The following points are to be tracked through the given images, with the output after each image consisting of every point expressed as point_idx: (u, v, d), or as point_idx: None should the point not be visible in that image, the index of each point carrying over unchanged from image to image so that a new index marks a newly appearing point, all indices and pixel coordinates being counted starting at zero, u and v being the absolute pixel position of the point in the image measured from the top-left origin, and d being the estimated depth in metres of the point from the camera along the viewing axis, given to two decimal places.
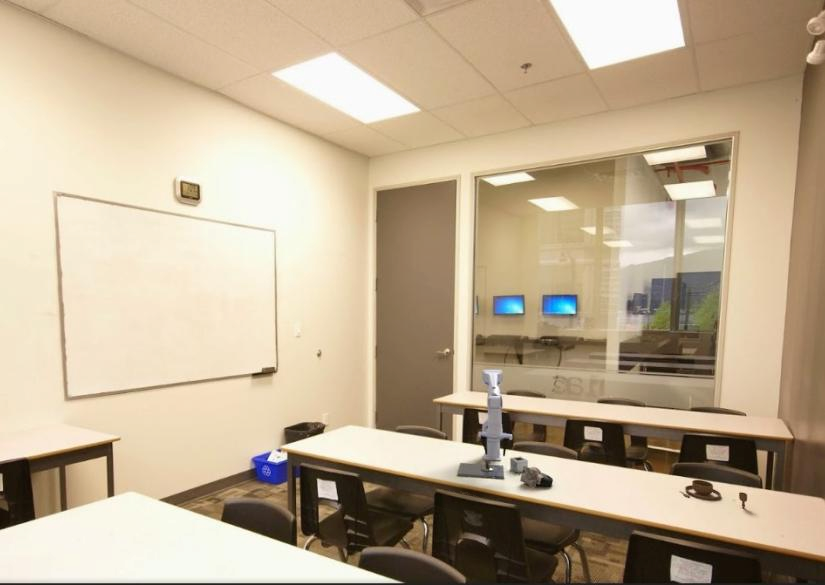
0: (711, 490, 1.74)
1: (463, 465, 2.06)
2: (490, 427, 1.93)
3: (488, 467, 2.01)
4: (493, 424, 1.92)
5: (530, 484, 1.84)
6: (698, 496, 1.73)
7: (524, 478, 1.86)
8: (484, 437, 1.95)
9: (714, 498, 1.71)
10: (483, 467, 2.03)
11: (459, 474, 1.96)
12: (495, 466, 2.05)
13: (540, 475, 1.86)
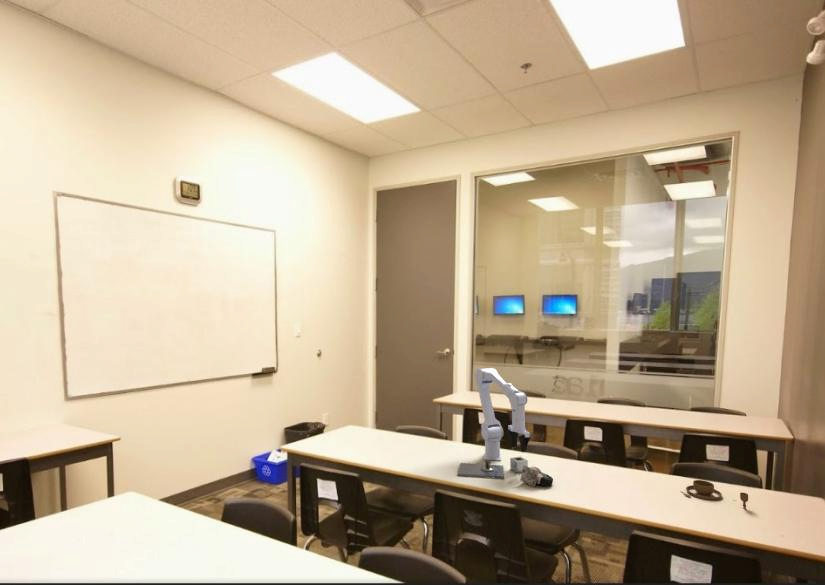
0: (712, 490, 1.74)
1: (463, 465, 2.06)
2: (512, 421, 2.05)
3: (488, 467, 2.01)
4: (512, 419, 2.03)
5: (530, 483, 1.85)
6: (699, 496, 1.73)
7: (524, 477, 1.87)
8: (511, 430, 2.08)
9: (715, 498, 1.71)
10: (483, 467, 2.03)
11: (459, 474, 1.96)
12: (495, 466, 2.05)
13: (540, 475, 1.86)
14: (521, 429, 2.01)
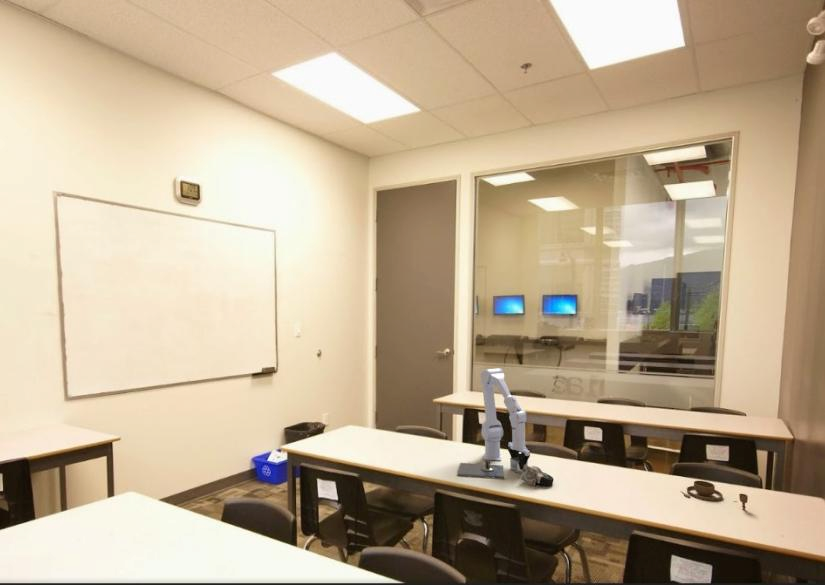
0: (712, 491, 1.73)
1: (463, 465, 2.06)
2: (512, 439, 2.05)
3: (488, 467, 2.01)
4: (513, 436, 2.03)
5: (530, 483, 1.86)
6: (698, 496, 1.72)
7: (524, 477, 1.88)
8: None
9: (715, 499, 1.70)
10: (483, 467, 2.03)
11: (459, 474, 1.96)
12: (495, 466, 2.05)
13: (540, 474, 1.87)
14: (521, 447, 2.01)
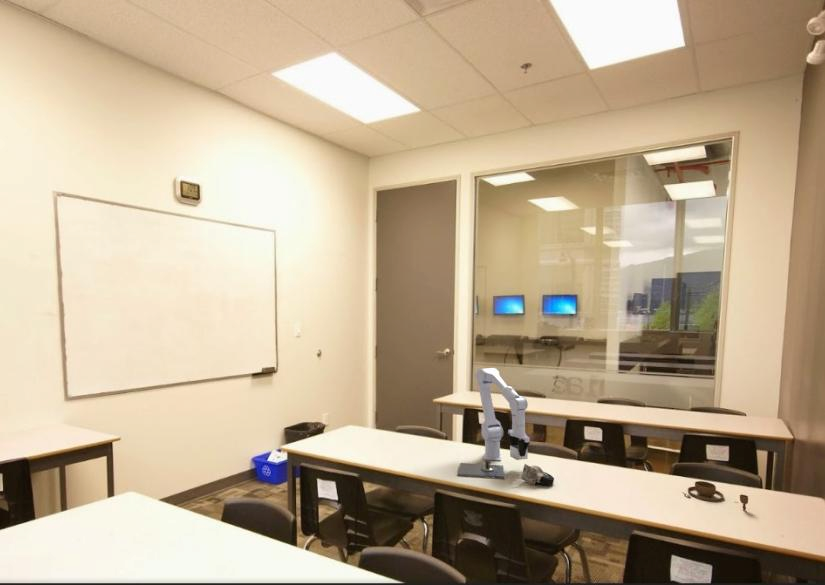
0: (713, 492, 1.72)
1: (463, 465, 2.06)
2: (512, 426, 2.05)
3: (488, 467, 2.01)
4: (512, 423, 2.03)
5: (530, 482, 1.86)
6: (699, 497, 1.72)
7: (524, 476, 1.89)
8: None
9: (715, 500, 1.70)
10: (483, 467, 2.03)
11: (459, 474, 1.96)
12: (495, 466, 2.05)
13: (541, 474, 1.87)
14: (521, 434, 2.01)
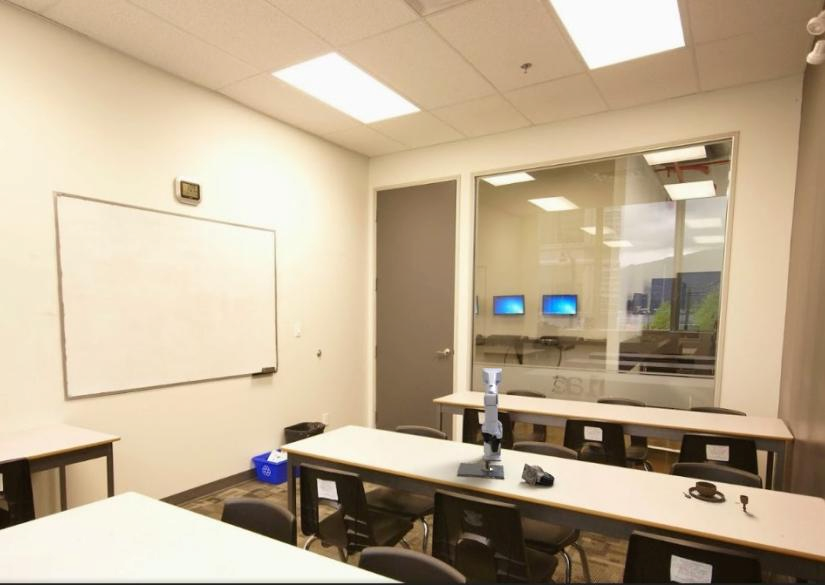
0: (714, 492, 1.72)
1: (463, 465, 2.06)
2: None
3: (488, 467, 2.01)
4: (485, 420, 2.02)
5: (530, 482, 1.87)
6: (699, 497, 1.72)
7: (525, 475, 1.89)
8: (484, 431, 2.07)
9: (716, 500, 1.69)
10: (483, 467, 2.03)
11: (459, 474, 1.96)
12: (495, 466, 2.05)
13: (541, 474, 1.88)
14: (493, 430, 2.00)
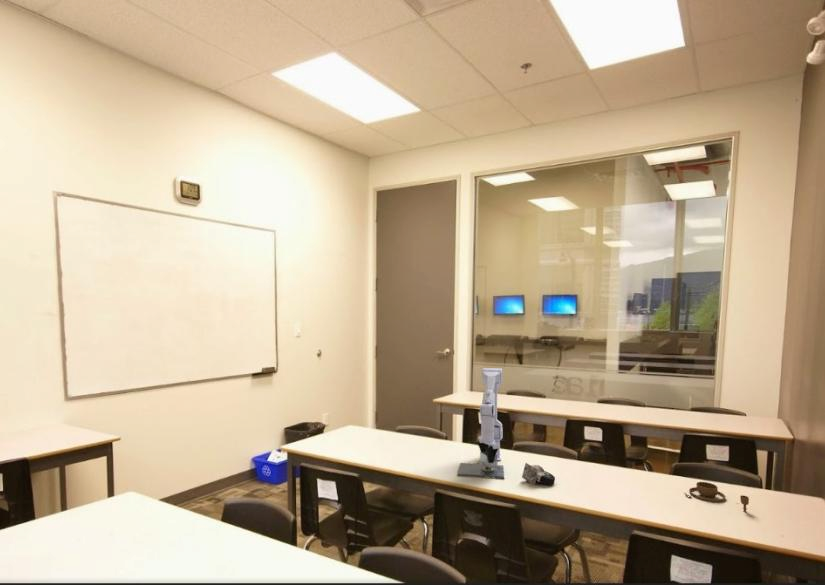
0: (715, 492, 1.72)
1: (463, 465, 2.06)
2: (481, 432, 2.03)
3: (488, 467, 2.01)
4: (481, 430, 2.02)
5: (530, 481, 1.88)
6: (700, 497, 1.72)
7: (525, 475, 1.90)
8: None
9: (716, 500, 1.69)
10: (483, 467, 2.03)
11: (459, 474, 1.96)
12: (495, 466, 2.05)
13: (541, 473, 1.88)
14: (490, 440, 2.00)
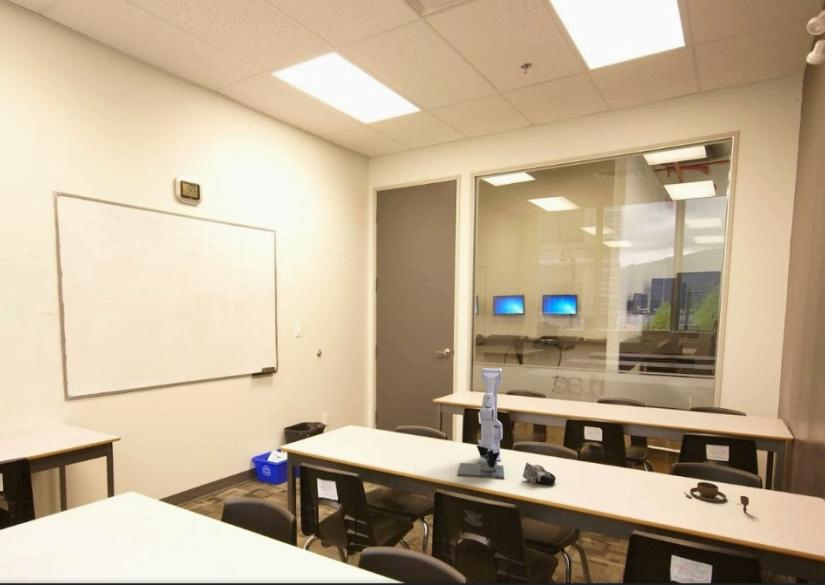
0: (715, 493, 1.71)
1: (463, 465, 2.06)
2: (481, 436, 2.03)
3: None
4: (481, 434, 2.02)
5: (531, 480, 1.88)
6: (700, 498, 1.71)
7: (526, 474, 1.91)
8: None
9: (717, 501, 1.69)
10: None
11: (459, 474, 1.96)
12: None
13: (542, 473, 1.88)
14: (490, 444, 1.99)
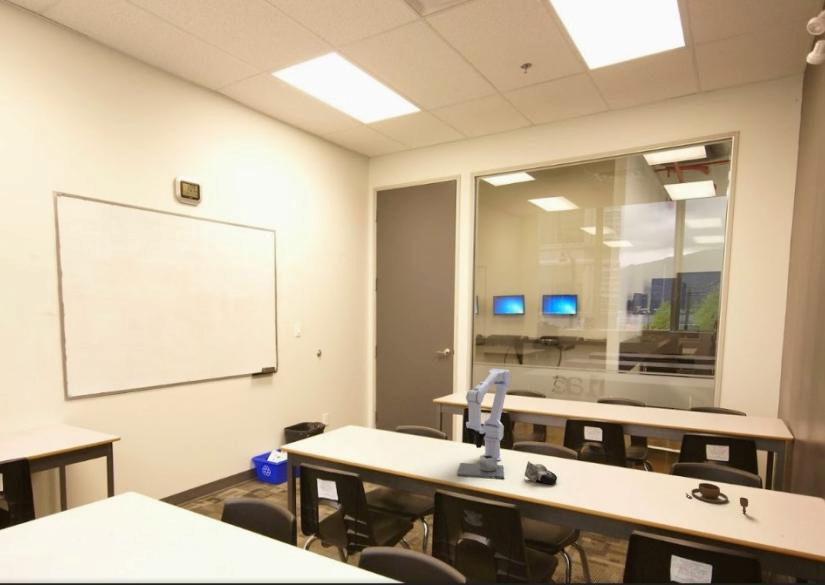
0: (716, 494, 1.70)
1: (463, 465, 2.06)
2: None
3: None
4: (469, 415, 2.08)
5: (532, 479, 1.89)
6: (700, 498, 1.71)
7: (527, 473, 1.92)
8: None
9: (717, 502, 1.68)
10: None
11: (459, 474, 1.96)
12: None
13: (543, 472, 1.89)
14: (477, 426, 2.06)
